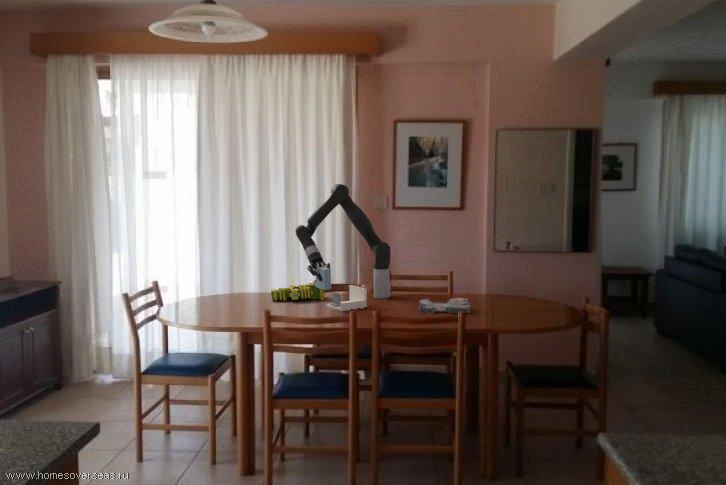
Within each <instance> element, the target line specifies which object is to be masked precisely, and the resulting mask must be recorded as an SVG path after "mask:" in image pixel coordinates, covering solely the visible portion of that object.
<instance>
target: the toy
mask: <svg viewBox="0 0 726 485" xmlns="http://www.w3.org/2000/svg"><path fill="white" fill-rule="evenodd" d="M270 294H271V300H275V301H277V302H278V301H280V302H285V301H298V300H304V299H307V300H308V299H310V300H319V299H320V301H323V300H325V299H324V298H325V297H324V290H323V289H320V288H317V287H316V282H309V283H308V284H307V283H303V284H299V285H295V284H293V285H289V287H279V288H278V289H276V288H271V289H270Z"/></svg>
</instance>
